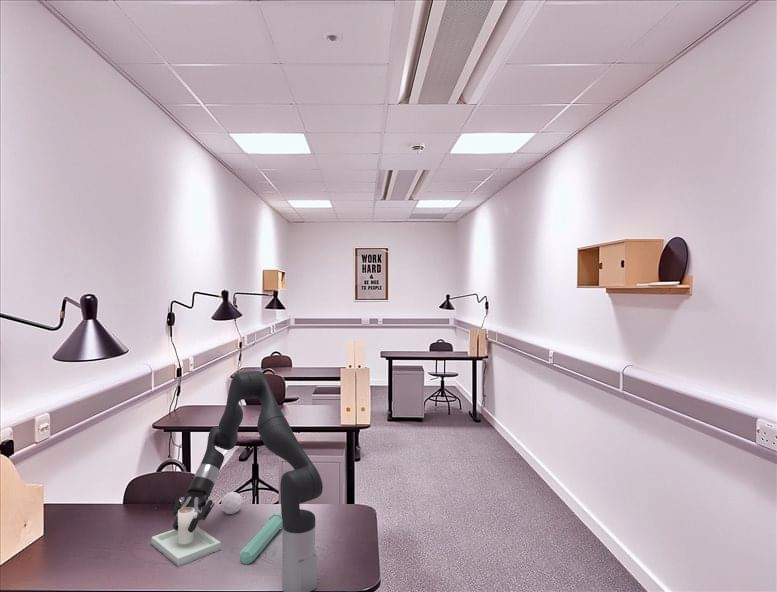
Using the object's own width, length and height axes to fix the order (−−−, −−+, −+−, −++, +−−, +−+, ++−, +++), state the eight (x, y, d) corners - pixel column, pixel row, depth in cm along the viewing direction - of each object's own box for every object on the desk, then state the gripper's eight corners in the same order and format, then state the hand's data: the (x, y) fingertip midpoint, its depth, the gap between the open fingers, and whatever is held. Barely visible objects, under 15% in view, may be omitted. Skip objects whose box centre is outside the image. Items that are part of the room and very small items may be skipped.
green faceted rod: (249, 546, 151) (281, 511, 176) (233, 552, 152) (267, 515, 177) (256, 565, 151) (287, 526, 175) (239, 570, 152) (273, 531, 176)
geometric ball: (225, 521, 188) (213, 504, 187) (239, 506, 194) (227, 490, 194) (236, 516, 183) (223, 499, 183) (250, 501, 190) (237, 484, 190)
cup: (196, 540, 162) (197, 509, 162) (181, 545, 159) (182, 514, 159) (189, 535, 166) (190, 505, 166) (175, 540, 162) (175, 510, 162)
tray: (220, 550, 161) (220, 542, 161) (178, 566, 150) (178, 558, 150) (192, 530, 174) (192, 523, 174) (151, 544, 164) (151, 536, 164)
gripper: (181, 473, 171) (157, 523, 159) (218, 477, 168) (197, 528, 156) (190, 483, 176) (168, 532, 165) (226, 487, 173) (206, 537, 161)
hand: (182, 530), depth 160 cm, fingers closed on cup, 5 cm apart
